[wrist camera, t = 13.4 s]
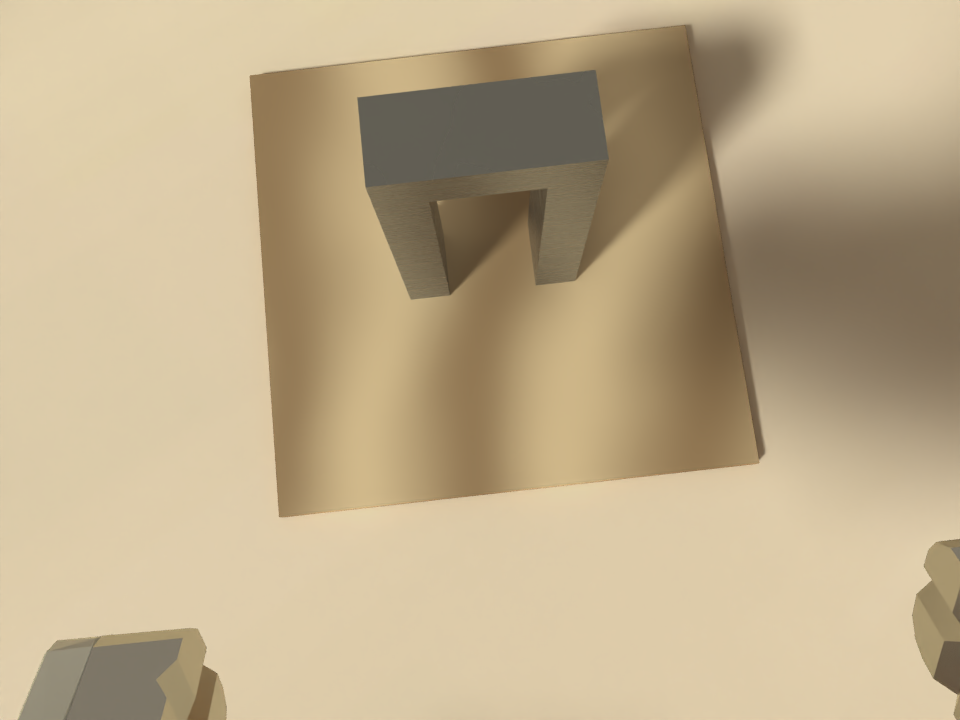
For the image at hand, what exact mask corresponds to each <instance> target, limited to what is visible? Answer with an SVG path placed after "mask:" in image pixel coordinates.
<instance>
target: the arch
mask: <svg viewBox="0 0 960 720" xmlns="http://www.w3.org/2000/svg"><path fill="white" fill-rule="evenodd" d="M357 101H358V112H359V123H360V134H361V145H362V155H363V166H364V177H365V188H366V190H367V193H368V195H369V198H370V200H371V203H372V205H373V207H374V210H375V212H376V215H377V217H378V220H379V222H380V225H381V227H382V230H383V232H384V235H385V237H386V240H387V242H388V245H389V247H390V250H391V252H392V254H393V257H394V259H395V262H396V264H397V267H398V269H399V272H400V274H401V277H402V279H403V282H404V284H405V287H406V289H407V292H408V294H409V297H410V299H411V300H414V299H423V298H431V297H440V296H449V295H450V289H449V279H448V270H447V261H446V252H445V242H444V233H443V228H442V223H441V218H440V213H439V209H438V204H437V201H442V200H451V199H459V198H468V197H477V196H485V195H494V194H503V193H511V192H520V191H529V190H530V197H529V211H528V230H529V238H530V245H531V253H532V261H533V269H534V277H535V285H544V284H553V283H562V282H570V281H575V279H576V276H577V272H578V269H579V265H580V261H581V258H582V254H583V251H584V247H585V243H586V240H587V236H588V233H589V229H590V226H591V222H592V218H593V215H594V211H595V208H596V204H597V200H598V197H599V193H600V190H601V186H602V182H603V179H604V175H605V172H606V168H607V164H608V161H609V157H608V150H607V143H606V136H605V129H604V123H603V116H602V109H601V102H600V96H599V89H598V82H597V75H596V70H589V71H581V72H572V73H563V74H555V75H546V76H538V77H529V78H520V79H512V80H503V81H495V82H486V83H477V84H469V85H460V86H452V87H443V88H434V89H426V90H417V91H409V92H400V93H391V94H383V95H374V96H366V97H357Z"/></svg>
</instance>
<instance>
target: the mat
mask: <svg viewBox="0 0 960 720" xmlns="http://www.w3.org/2000/svg"><path fill="white" fill-rule="evenodd" d="M589 70H596V75H597V82H598V89H599V96H600V102H601V109H602V116H603V123H604V129H605V136H606V143H607V150H608V157H609V161H608V164H607V168H606V172H605V175H604V179H603V182H602V186H601V190H600V193H599V197H598V200H597V204H596V208H595V211H594V215H593V218H592V222H591V226H590V229H589V233H588V236H587V240H586V243H585V247H584V251H583V254H582V258H581V261H580V265H579V269H578V272H577V276H576V279H575V281H570V282H562V283H553V284H544V285H535V277H534V269H533V261H532V253H531V245H530V238H529V230H528V211H529V197H530V190H529V191H520V192H511V193H503V194H494V195H485V196H477V197H468V198H459V199H451V200H442V201H437V204H438V209H439V213H440V218H441V223H442V228H443V233H444V242H445V252H446V261H447V270H448V279H449V289H450V295H449V296H440V297H431V298H423V299H414V300H411V299H410V297H409V294H408V292H407V289H406V287H405V284H404V282H403V279H402V277H401V274H400V272H399V269H398V267H397V264H396V262H395V259H394V257H393V254H392V252H391V250H390V247H389V245H388V242H387V240H386V237H385V235H384V232H383V230H382V227H381V225H380V222H379V220H378V217H377V215H376V212H375V210H374V207H373V205H372V203H371V200H370V198H369V195H368V193H367V190H366V188H365V177H364V166H363V155H362V145H361V134H360V123H359V112H358V101H357V97H366V96H374V95H383V94H391V93H400V92H409V91H417V90H426V89H434V88H443V87H452V86H460V85H469V84H477V83H486V82H495V81H503V80H512V79H520V78H529V77H538V76H546V75H555V74H563V73H572V72H581V71H589ZM250 87H251V102H252V117H253V132H254V147H255V162H256V177H257V192H258V207H259V222H260V237H261V252H262V267H263V282H264V297H265V312H266V327H267V342H268V357H269V372H270V387H271V402H272V417H273V432H274V447H275V462H276V477H277V492H278V507H279V517H290V516H299V515H308V514H316V513H325V512H334V511H343V510H352V509H361V508H370V507H378V506H387V505H396V504H405V503H414V502H423V501H432V500H440V499H449V498H458V497H467V496H476V495H485V494H494V493H502V492H511V491H520V490H529V489H538V488H547V487H556V486H564V485H573V484H582V483H591V482H600V481H609V480H618V479H626V478H635V477H644V476H653V475H662V474H671V473H680V472H688V471H697V470H706V469H715V468H724V467H733V466H742V465H750V464H757V463H759V457H758V451H757V446H756V440H755V434H754V428H753V422H752V416H751V410H750V404H749V398H748V393H747V387H746V381H745V375H744V369H743V363H742V357H741V351H740V345H739V340H738V334H737V328H736V322H735V316H734V310H733V304H732V298H731V292H730V287H729V281H728V275H727V269H726V263H725V257H724V251H723V245H722V239H721V234H720V228H719V222H718V216H717V210H716V204H715V198H714V192H713V186H712V181H711V175H710V169H709V163H708V157H707V151H706V145H705V139H704V133H703V127H702V122H701V116H700V110H699V104H698V98H697V92H696V86H695V80H694V74H693V69H692V63H691V57H690V51H689V45H688V39H687V33H686V27H685V25H682V26H674V27H665V28H656V29H648V30H639V31H631V32H622V33H613V34H605V35H596V36H587V37H579V38H570V39H562V40H553V41H544V42H536V43H527V44H518V45H510V46H501V47H492V48H484V49H475V50H467V51H458V52H449V53H441V54H432V55H423V56H415V57H406V58H398V59H389V60H380V61H372V62H363V63H354V64H346V65H337V66H329V67H320V68H311V69H303V70H294V71H285V72H277V73H268V74H259V75H251V76H250Z"/></svg>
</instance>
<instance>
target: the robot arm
mask: <svg viewBox="0 0 960 720" xmlns="http://www.w3.org/2000/svg"><path fill="white" fill-rule="evenodd" d="M924 568H925V569H926V571H927V573H928V574H929V576H930V577H931V579H932V581H931V582H929V583H928V584H927V585H926V586H925V587H924V588H923V589H922V590H921V591H919V592H918V593H917V594H916V599H915V604H914V609H913V614H912V617H913V625H914V632H915V639H916V642H917V645H918V648H919V650H920V653H921V656H922V659H923V660H924V662H925V664H926V666H927V668H928V670H929V671H930V673H931V675H932V677H933V679H935V680H936V681H938V682H939V683H941V684H942V685H944V686H945V687H947V688H948V689H950V690H951V691H953V692H954V693H956V694H957V700H956V705H955V710H954V716H955V718H956V720H960V539H955V540H947V541H939V542H936V543H935V544H934V545H933V546H932V547H931V548H930V549H929V550H928V553H927V556H926V560H925V563H924ZM206 649H207V647H206V645H205V643H204V641H203V639H202V637H201V635H200V632H199V630H198V629H196V628H186V629H174V630H163V631H151V632H140V633H129V634H117V635H106V636H99V637H89V638H78V639H68V640H58V641H56V642H55V643H54V644H53V645H52V647H51V648H50V649H49V650H48V651H47V652H46V653H45V655H44V657H43V660H42V662H41V664H40V667H39V669H38V671H37V674H36V676H35V679H34V681H33V683H32V686H31V688H30V691H29V693H28V695H27V698H26V700H25V703H24V705H23V707H22V710H21V712H20V714H19V717H18V719H17V720H226V713H227V706H226V701H225V695H224V690H223V686H222V684H221V681H220V679H219V676H218V674H217V673H216V672H214V671H213V670H211V669H209V668H208V667H206V666H204V665H203V662H204V658H205V653H206Z"/></svg>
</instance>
